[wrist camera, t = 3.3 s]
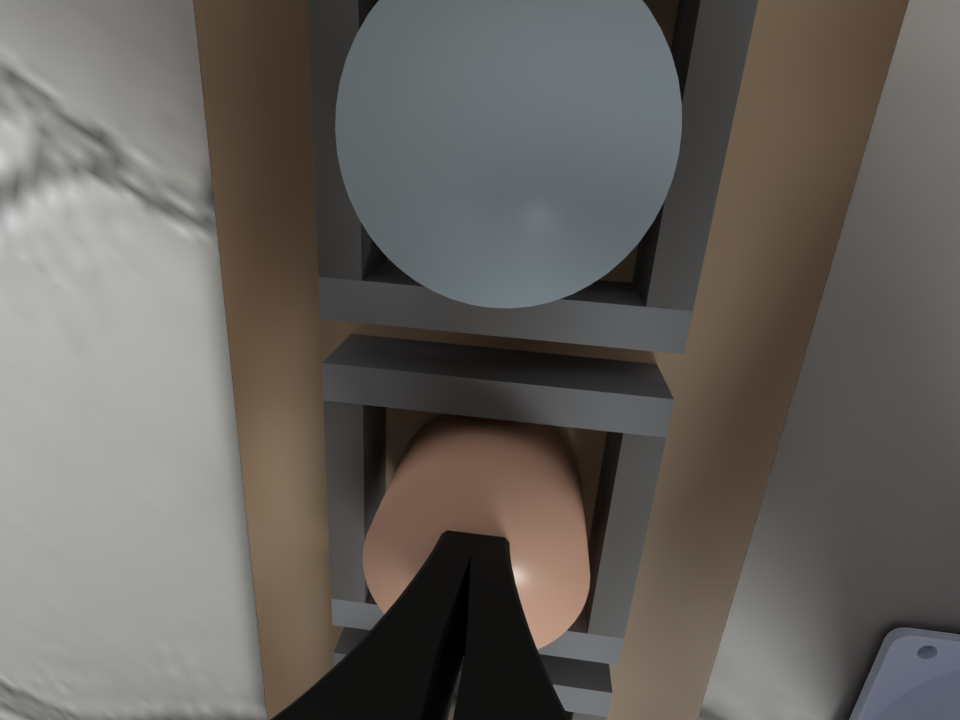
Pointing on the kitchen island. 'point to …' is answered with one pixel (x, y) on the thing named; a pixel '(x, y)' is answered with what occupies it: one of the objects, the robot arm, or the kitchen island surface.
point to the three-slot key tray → (536, 335)
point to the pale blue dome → (508, 141)
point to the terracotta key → (487, 513)
